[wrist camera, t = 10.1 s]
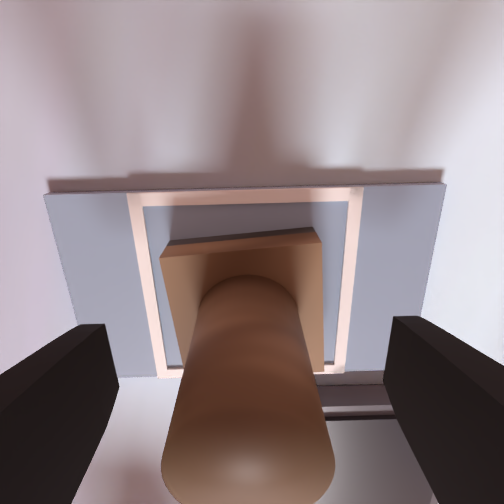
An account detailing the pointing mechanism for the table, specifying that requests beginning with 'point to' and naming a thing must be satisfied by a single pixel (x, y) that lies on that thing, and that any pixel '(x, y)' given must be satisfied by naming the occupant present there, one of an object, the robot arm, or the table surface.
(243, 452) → the stamp
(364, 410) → the pad
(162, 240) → the print card
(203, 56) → the table surface
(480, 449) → the robot arm
